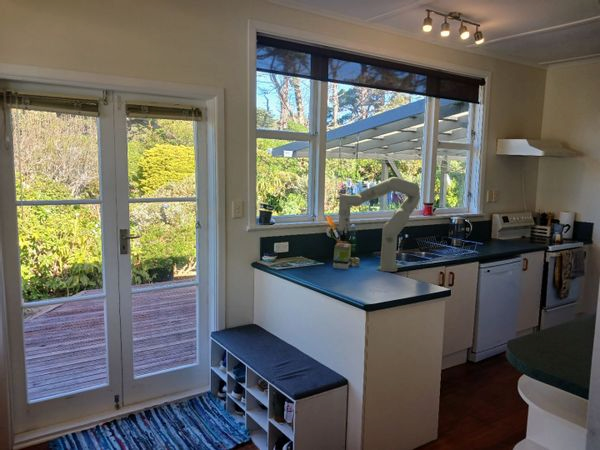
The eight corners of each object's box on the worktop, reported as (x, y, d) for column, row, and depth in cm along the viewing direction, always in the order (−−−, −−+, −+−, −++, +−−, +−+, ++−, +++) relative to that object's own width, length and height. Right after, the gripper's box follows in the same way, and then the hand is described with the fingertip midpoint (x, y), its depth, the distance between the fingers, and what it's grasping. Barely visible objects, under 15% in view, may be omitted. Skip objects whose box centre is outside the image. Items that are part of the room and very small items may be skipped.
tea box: (348, 269, 292) (349, 247, 291) (332, 268, 294) (333, 245, 293) (350, 264, 307) (351, 243, 305) (335, 263, 309) (336, 242, 307)
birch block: (356, 264, 309) (356, 257, 308) (359, 266, 304) (359, 258, 303) (349, 264, 308) (350, 257, 307) (352, 266, 303) (352, 258, 302)
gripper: (353, 214, 290) (351, 242, 292) (346, 212, 304) (344, 238, 307) (342, 214, 288) (340, 242, 291) (335, 211, 303) (333, 238, 305)
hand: (342, 240), depth 299 cm, fingers closed
